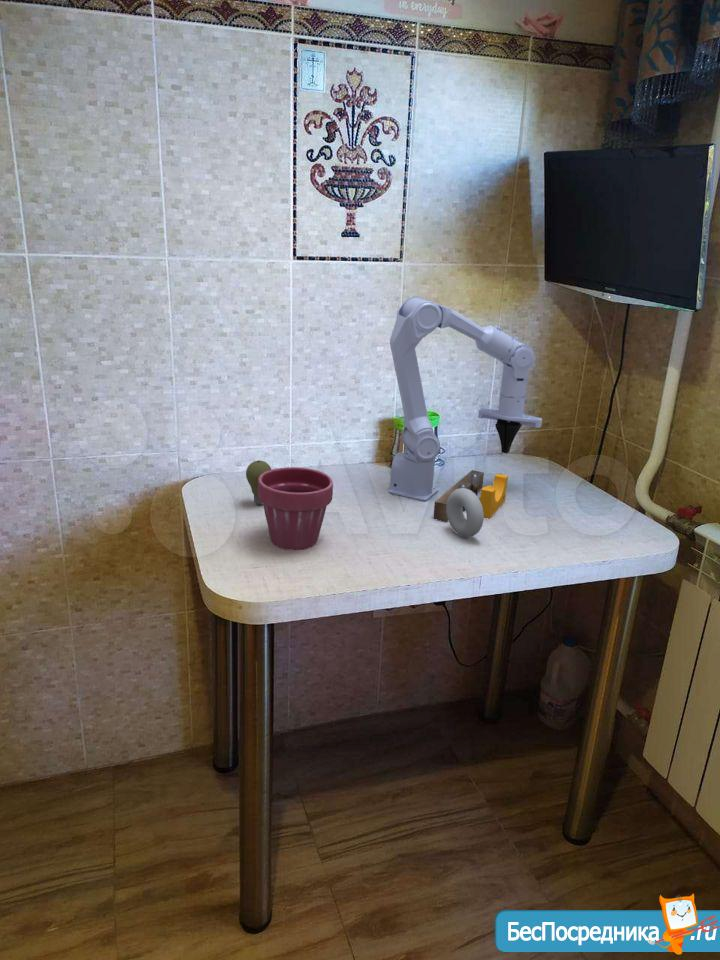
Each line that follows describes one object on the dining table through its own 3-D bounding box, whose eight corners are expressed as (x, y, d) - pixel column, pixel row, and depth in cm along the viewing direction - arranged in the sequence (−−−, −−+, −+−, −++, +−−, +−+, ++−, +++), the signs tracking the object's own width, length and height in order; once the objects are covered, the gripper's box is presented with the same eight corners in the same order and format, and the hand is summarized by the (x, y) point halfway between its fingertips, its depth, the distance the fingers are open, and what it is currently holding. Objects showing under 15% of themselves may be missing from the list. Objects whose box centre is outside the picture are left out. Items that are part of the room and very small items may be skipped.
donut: (440, 527, 148) (445, 482, 144) (453, 524, 150) (458, 480, 146) (471, 546, 140) (476, 499, 136) (484, 543, 142) (490, 496, 138)
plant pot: (345, 540, 140) (348, 479, 135) (295, 564, 129) (296, 498, 125) (294, 519, 148) (295, 461, 144) (242, 539, 138) (241, 477, 133)
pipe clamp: (486, 498, 165) (489, 472, 163) (504, 502, 164) (508, 475, 161) (470, 515, 155) (473, 487, 153) (489, 519, 154) (492, 491, 151)
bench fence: (433, 518, 152) (435, 492, 150) (470, 485, 172) (472, 462, 170) (452, 523, 150) (454, 497, 148) (487, 489, 170) (490, 465, 168)
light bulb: (244, 500, 156) (243, 457, 153) (269, 498, 158) (269, 456, 155) (248, 510, 151) (248, 466, 148) (274, 508, 153) (274, 464, 150)
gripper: (548, 396, 163) (540, 453, 168) (487, 387, 169) (481, 442, 174) (540, 402, 157) (532, 461, 162) (477, 393, 163) (471, 449, 168)
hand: (505, 451), depth 168 cm, fingers closed
